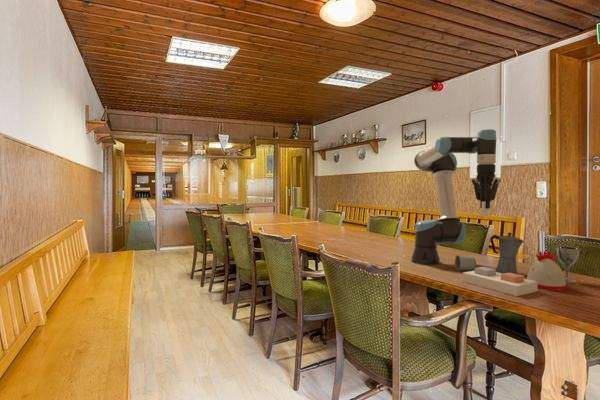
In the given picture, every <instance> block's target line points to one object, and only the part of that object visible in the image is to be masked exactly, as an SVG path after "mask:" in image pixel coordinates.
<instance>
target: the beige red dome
mask: <svg viewBox="0 0 600 400" xmlns="http://www.w3.org/2000/svg"><path fill="white" fill-rule="evenodd" d="M538 253H539V254H535V256H536V258H537V261H535V262H534V263H533V264H532V265H531V267H530V269H529V271H528V274H527V276H526V279H528V280H533V281H537V289H540V290H546V291H564V290H566V288H567V282H565V278H566V277H565V276H564V272H563V271H562V269H561V267H560V266H559V264H558V263H557V262H556V259H557V256H556V255H555V256H554V254H553V253H550V250H547V251H545V250H543V253H542V251H539V252H538Z"/></svg>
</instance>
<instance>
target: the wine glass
mask: <svg viewBox="0 0 600 400" xmlns="http://www.w3.org/2000/svg"><path fill="white" fill-rule="evenodd" d="M579 253H580V248H579V247H576V246H575V247H574V246H568V245H567V246H566V245H565V246H564V245H559V246H556V255H557V256H556V257H557V259H558V260H559V262H560V263H561V264H562V265H563V267H564V270H565V277H564V278H565V282H566V283H573V284H576V283H577V282H578V281H577V280H575V279H571V278H569V271H570V268H571V267H572V265H574V264H575V263H576V262H577V261H578V258H579V255H580V254H579Z"/></svg>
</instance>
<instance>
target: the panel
mask: <svg viewBox="0 0 600 400" xmlns="http://www.w3.org/2000/svg"><path fill="white" fill-rule="evenodd" d="M501 274H503V273H499V272H497V271H496V275H492V276H484V275H479V274H475V270H472V271H463V272H462V282H463V283H467V284H470V285H474V286H477V287H481V288H485V289H488V290H492V291H496V292H499V293H504V294H507V295H510V296H515V297H519V296H522V295H523V296H524V295H528V294H532V293H535V292H538V288H537V281H533V280H528V279H527V278H524V282H519V283H512V282H508V281H504V280H501Z"/></svg>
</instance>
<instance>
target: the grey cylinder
mask: <svg viewBox="0 0 600 400" xmlns="http://www.w3.org/2000/svg"><path fill="white" fill-rule="evenodd" d="M454 266H455V268H456V270H457V271H463V272H469V271H475V268H477V260H476V259H475V257H474V256H472V255H461V254H460V255H459V254H457V255H456V256H455V260H454Z"/></svg>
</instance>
